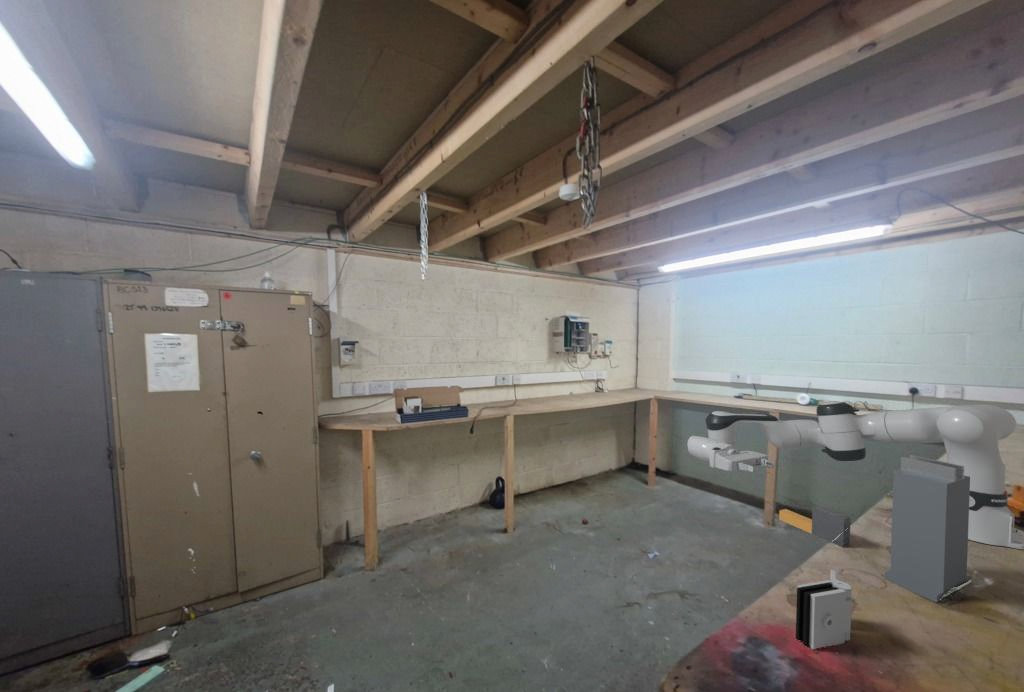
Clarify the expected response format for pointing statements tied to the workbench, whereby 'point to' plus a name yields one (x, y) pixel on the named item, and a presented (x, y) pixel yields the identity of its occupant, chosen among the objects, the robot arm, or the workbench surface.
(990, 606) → the workbench surface
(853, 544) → the workbench surface
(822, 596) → the hinge
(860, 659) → the workbench surface
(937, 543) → the stand
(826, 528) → the bar
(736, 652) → the workbench surface
